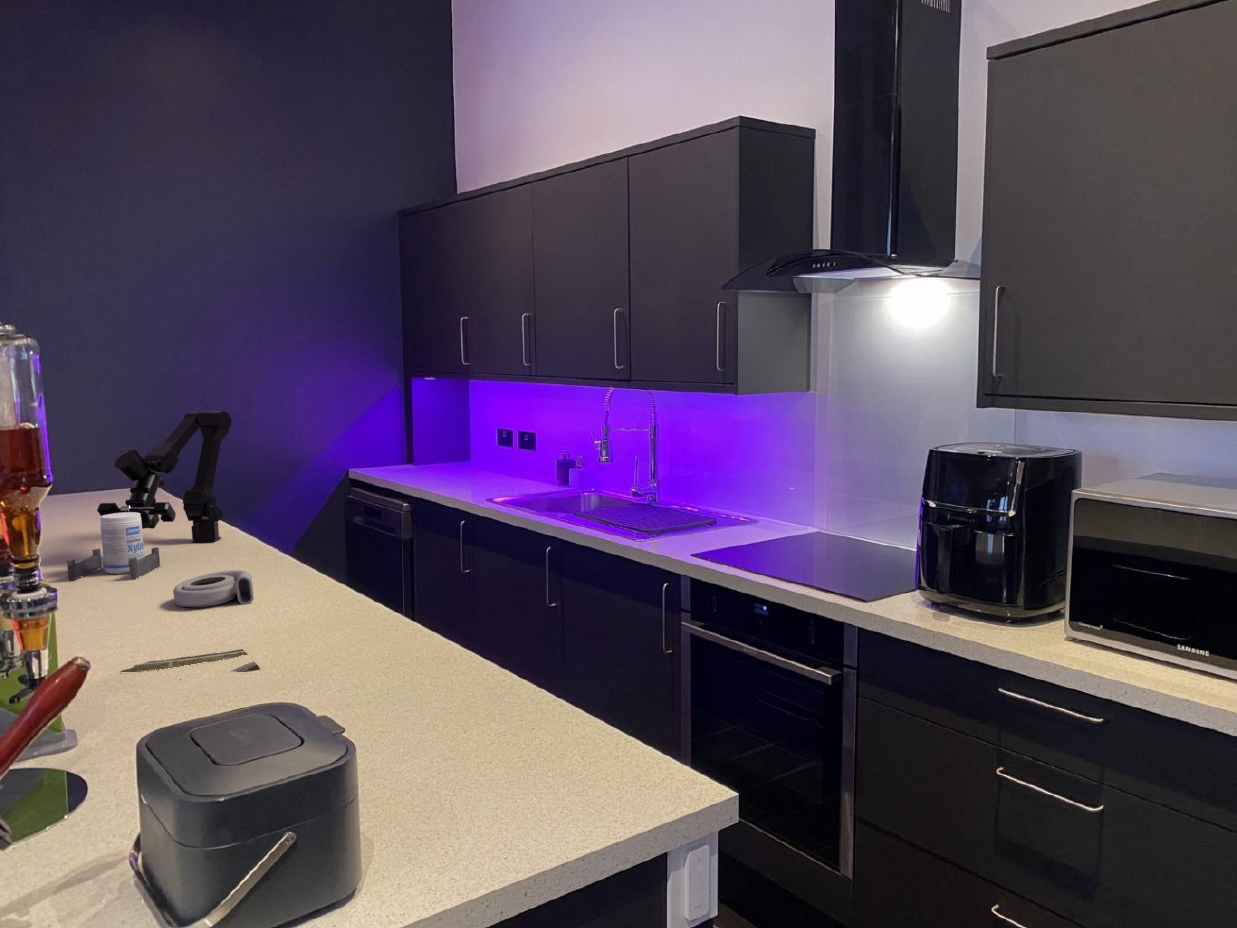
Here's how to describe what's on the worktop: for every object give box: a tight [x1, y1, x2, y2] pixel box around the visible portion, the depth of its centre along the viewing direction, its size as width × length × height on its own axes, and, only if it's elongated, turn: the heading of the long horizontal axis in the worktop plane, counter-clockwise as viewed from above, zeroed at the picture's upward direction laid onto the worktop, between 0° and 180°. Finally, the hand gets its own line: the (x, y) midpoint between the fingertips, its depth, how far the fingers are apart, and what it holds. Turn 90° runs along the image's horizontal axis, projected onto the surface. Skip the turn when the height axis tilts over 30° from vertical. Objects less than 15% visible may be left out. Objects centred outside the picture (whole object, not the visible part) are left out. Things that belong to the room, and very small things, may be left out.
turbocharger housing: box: [172, 569, 255, 608], centre depth 223 cm, size 17×6×15 cm
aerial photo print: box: [120, 649, 261, 681], centre depth 173 cm, size 25×19×2 cm
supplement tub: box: [100, 512, 145, 575], centre depth 254 cm, size 10×10×15 cm
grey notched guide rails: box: [66, 547, 161, 582], centre depth 251 cm, size 16×14×5 cm
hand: (127, 538), depth 259 cm, fingers closed
